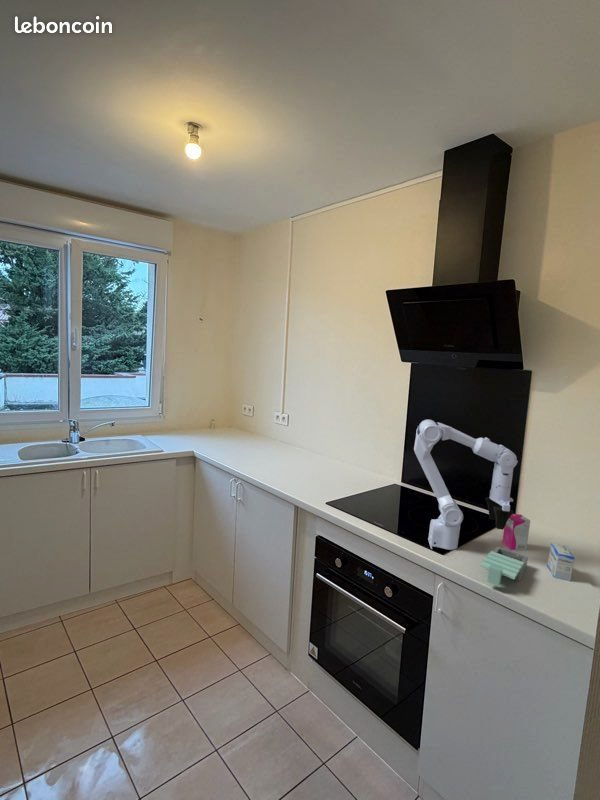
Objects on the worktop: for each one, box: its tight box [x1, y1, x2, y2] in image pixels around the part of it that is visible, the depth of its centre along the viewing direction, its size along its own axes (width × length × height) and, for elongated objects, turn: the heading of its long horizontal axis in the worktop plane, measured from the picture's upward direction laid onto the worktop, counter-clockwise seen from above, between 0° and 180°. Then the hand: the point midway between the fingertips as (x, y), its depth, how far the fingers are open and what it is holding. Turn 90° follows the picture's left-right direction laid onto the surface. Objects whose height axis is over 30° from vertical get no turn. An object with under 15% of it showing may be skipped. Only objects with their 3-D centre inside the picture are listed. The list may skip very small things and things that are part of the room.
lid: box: [479, 550, 524, 587], centre depth 120 cm, size 9×14×4 cm, turn 141°
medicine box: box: [546, 542, 575, 582], centre depth 127 cm, size 8×4×9 cm, turn 163°
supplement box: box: [501, 513, 531, 551], centre depth 144 cm, size 6×6×12 cm
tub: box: [485, 546, 529, 582], centre depth 128 cm, size 9×11×4 cm
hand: (496, 524), depth 137 cm, fingers open, 7 cm apart
